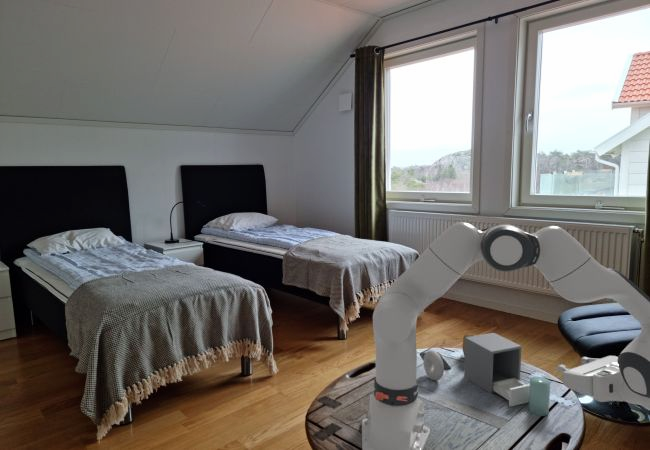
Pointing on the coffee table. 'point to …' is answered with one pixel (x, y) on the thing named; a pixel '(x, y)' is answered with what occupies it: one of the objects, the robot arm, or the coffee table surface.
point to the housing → (491, 360)
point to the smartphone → (446, 366)
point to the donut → (433, 365)
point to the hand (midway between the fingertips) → (570, 363)
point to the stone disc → (464, 340)
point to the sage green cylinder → (539, 396)
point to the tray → (512, 390)
